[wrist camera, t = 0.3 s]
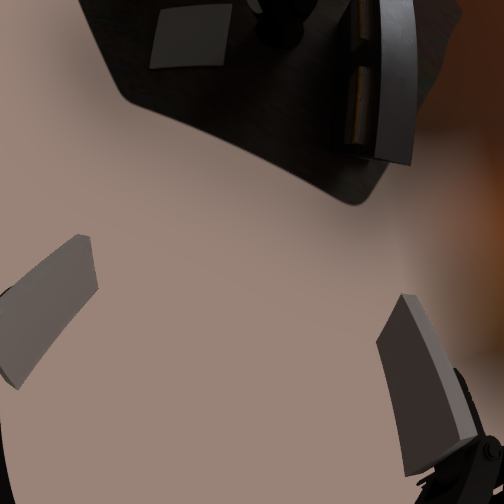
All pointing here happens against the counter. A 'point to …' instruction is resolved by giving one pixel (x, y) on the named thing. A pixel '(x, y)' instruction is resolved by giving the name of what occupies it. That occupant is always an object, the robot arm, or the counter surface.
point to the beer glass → (281, 20)
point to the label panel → (376, 82)
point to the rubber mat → (191, 36)
